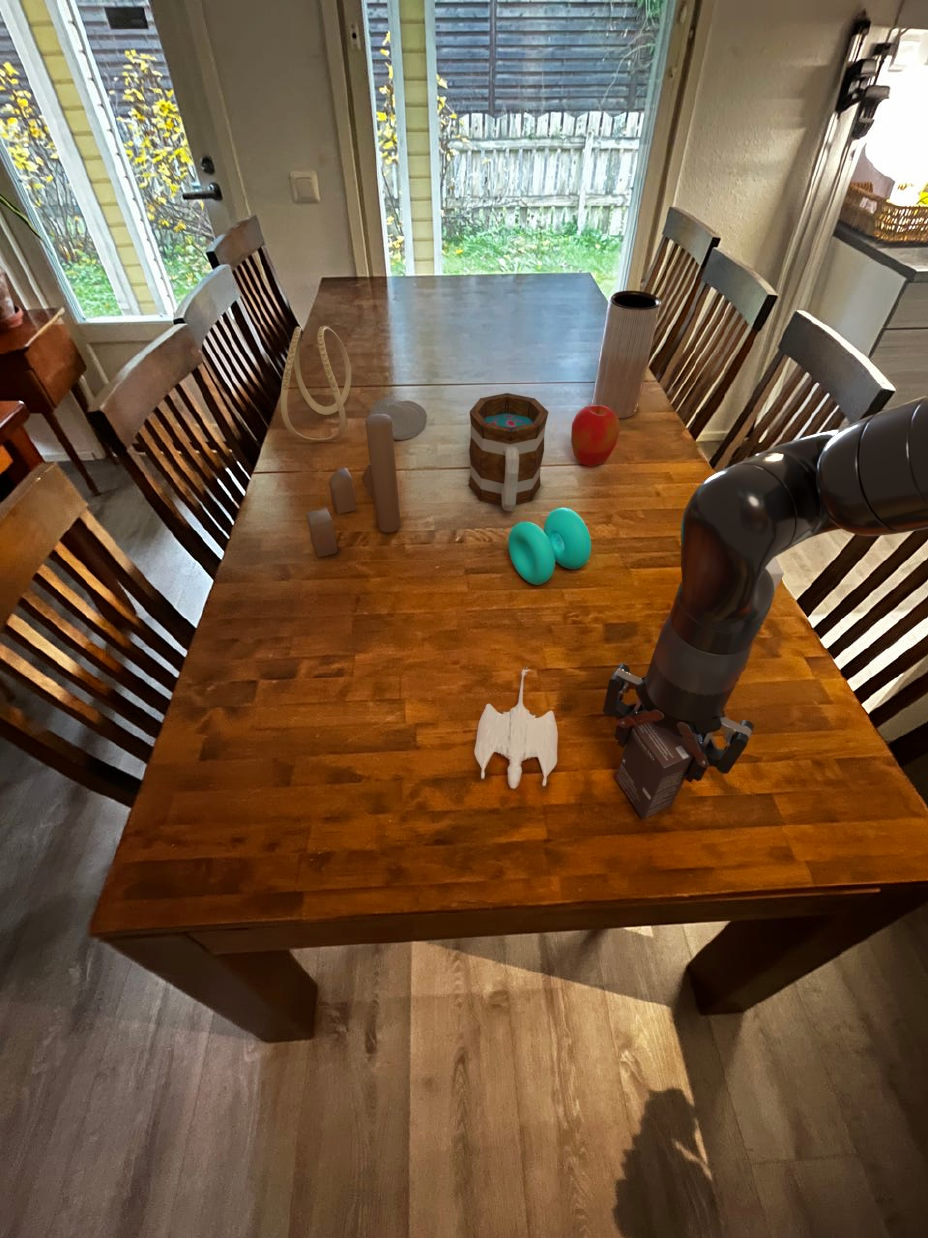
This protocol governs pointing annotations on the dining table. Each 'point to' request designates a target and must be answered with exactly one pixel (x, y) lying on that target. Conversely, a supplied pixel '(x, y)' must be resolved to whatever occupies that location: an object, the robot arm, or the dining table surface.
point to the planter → (625, 350)
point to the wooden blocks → (376, 479)
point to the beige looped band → (294, 355)
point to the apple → (594, 434)
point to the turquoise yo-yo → (549, 545)
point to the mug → (506, 449)
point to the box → (653, 768)
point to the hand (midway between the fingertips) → (656, 757)
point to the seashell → (402, 416)
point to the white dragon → (517, 738)
